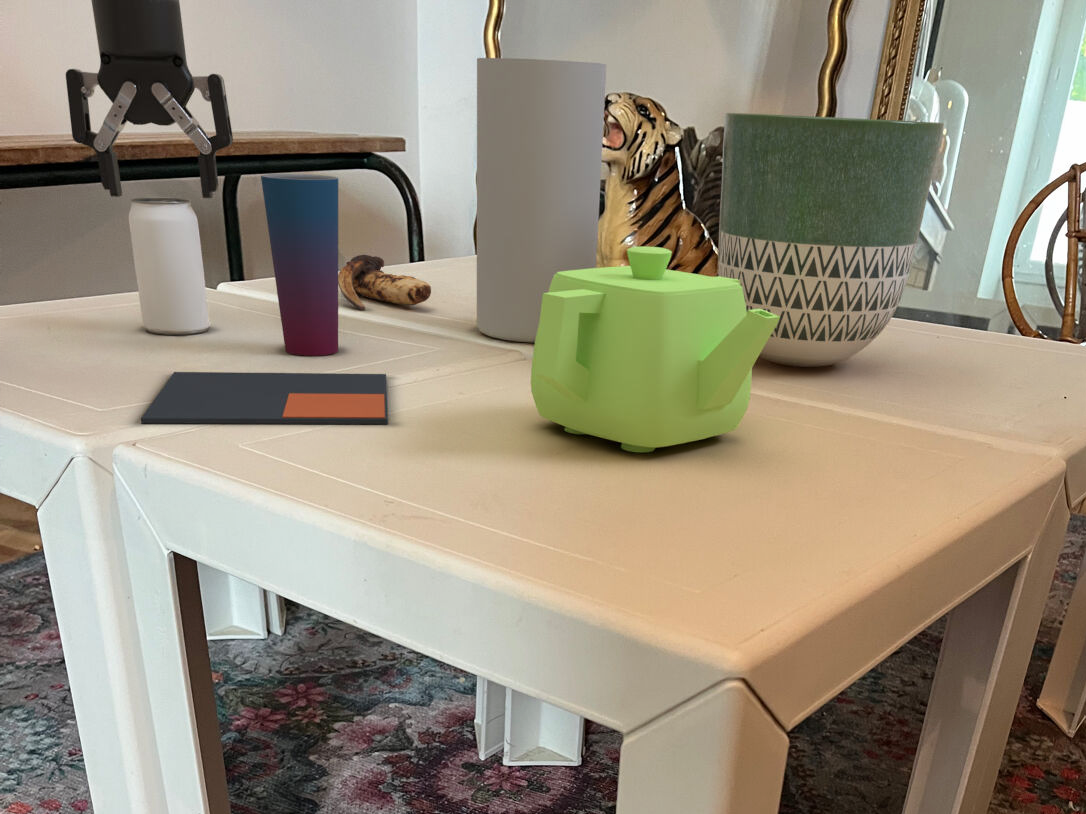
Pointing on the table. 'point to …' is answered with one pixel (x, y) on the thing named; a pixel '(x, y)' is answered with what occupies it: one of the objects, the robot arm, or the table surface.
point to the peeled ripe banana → (379, 283)
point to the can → (168, 265)
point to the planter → (823, 225)
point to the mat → (270, 399)
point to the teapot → (646, 352)
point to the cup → (305, 258)
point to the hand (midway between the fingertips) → (162, 197)
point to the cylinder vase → (534, 184)
